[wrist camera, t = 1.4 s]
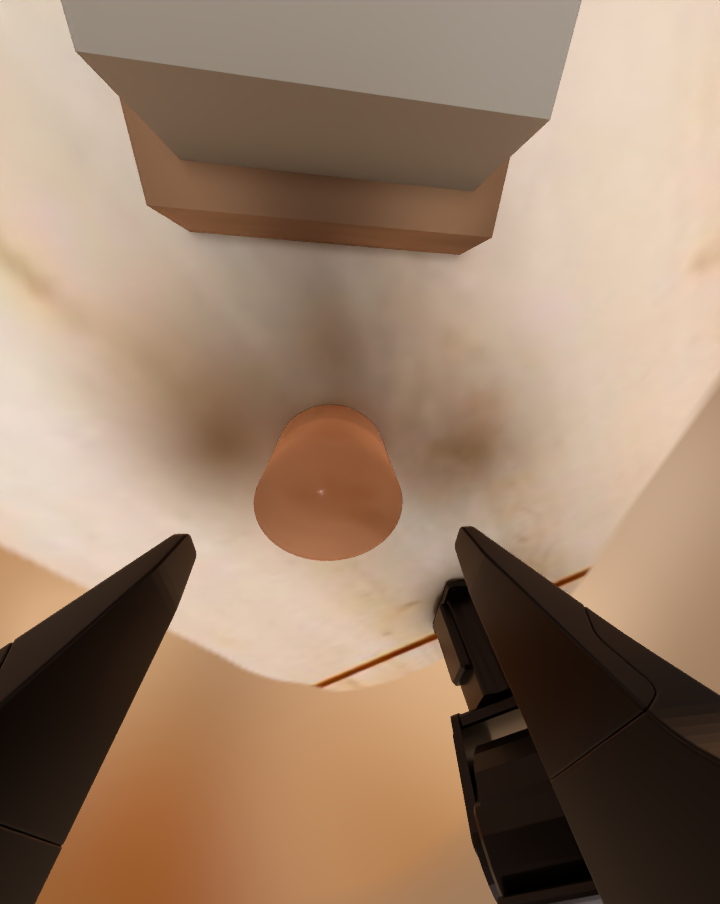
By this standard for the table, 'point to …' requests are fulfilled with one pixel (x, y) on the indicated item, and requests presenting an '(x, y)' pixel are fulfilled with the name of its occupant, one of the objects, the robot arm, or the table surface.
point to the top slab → (335, 80)
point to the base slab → (311, 202)
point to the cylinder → (328, 486)
